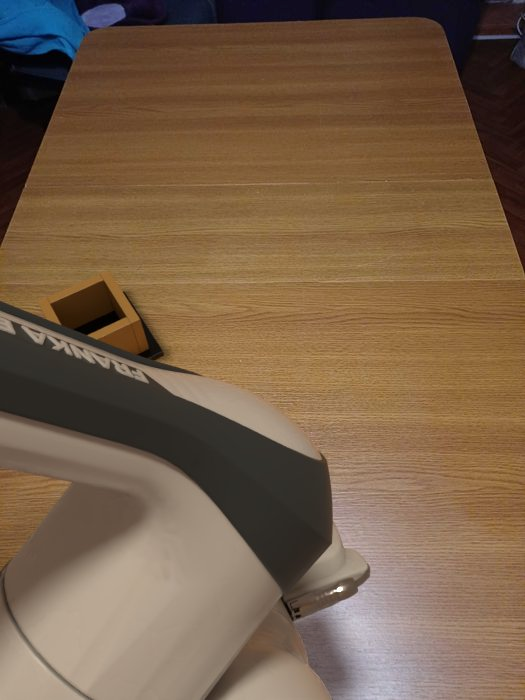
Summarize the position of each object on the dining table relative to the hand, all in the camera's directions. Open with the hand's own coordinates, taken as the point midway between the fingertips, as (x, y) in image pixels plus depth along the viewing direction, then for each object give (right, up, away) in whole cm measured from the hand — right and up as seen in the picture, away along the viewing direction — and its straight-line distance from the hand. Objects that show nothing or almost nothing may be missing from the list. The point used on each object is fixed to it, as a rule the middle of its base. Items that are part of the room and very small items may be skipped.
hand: (190, 544), depth 48 cm
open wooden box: (-15, +16, +30) cm, 37 cm away
